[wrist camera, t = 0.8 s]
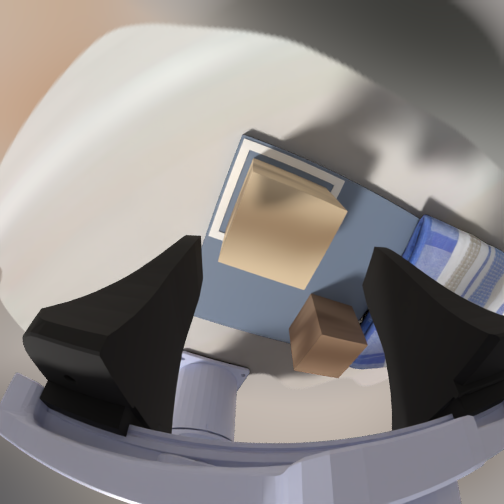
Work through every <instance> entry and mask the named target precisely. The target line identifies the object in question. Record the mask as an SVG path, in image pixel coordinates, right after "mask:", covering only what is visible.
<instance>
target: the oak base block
mask: <svg viewBox="0 0 504 504" xmlns="http://www.w3.org/2000/svg"><path fill="white" fill-rule="evenodd" d="M347 212H348V211H347V210H346V209H345V208H344V207H343V206H342V205H341V203H340V202H339V201H338V200H337V199H336V198H335V197H334V196H333V195H332V194H331V193H330V192H329V191H328V189H327V188H325V187H323V186H321V185H318V184H316V183H314V182H312V181H309V180H307V179H305V178H302V177H300V176H298V175H295V174H293V173H290V172H288V171H286V170H283V169H281V168H278V167H276V166H273V165H271V164H268V163H265V162H263V161H260V160H258V159H255V158H253V160H252V163H251V165H250V168H249V170H248V173H247V175H246V178H245V180H244V183H243V185H242V188H241V191H240V193H239V196H238V198H237V201H236V203H235V206H234V209H233V211H232V214H231V217H230V219H229V222H228V225H227V227H226V231H225V235H224V239H223V243H222V247H221V251H220V255H219V259H218V262H220V263H223V264H226V265H229V266H232V267H235V268H238V269H241V270H244V271H247V272H250V273H253V274H256V275H259V276H262V277H265V278H268V279H271V280H274V281H277V282H280V283H283V284H287V285H290V286H293V287H296V288H299V289H302V290H305V288H306V286H307V284H308V283H309V281H310V279H311V278H312V276H313V274H314V272H315V271H316V269H317V267H318V265H319V264H320V262H321V260H322V258H323V256H324V255H325V253H326V251H327V249H328V247H329V246H330V244H331V242H332V240H333V238H334V236H335V235H336V233H337V231H338V229H339V227H340V225H341V223H342V221H343V219H344V217H345V216H346V214H347Z"/></svg>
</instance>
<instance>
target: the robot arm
mask: <svg viewBox="0 0 504 504" xmlns="http://www.w3.org/2000/svg"><path fill="white" fill-rule="evenodd" d="M202 282H203V266H202V249H201V236H192V235H186V236H184V237H183V238H181V239H180V240H178V241H177V242H176V243H175V244H173V245H172V246H171V247H169V248H168V249H167V250H165V251H164V252H163V253H161V254H160V255H159V256H157V257H156V258H154V259H153V260H152V261H150V262H149V263H147V264H146V265H144V266H143V267H141V268H140V269H138V270H137V271H135V272H133V273H132V274H130V275H128V276H127V277H125V278H123V279H121V280H119V281H117V282H116V283H113V284H111V285H109V286H107V287H105V288H103V289H100V290H98V291H96V292H94V293H91V294H89V295H86V296H83V297H80V298H78V299H75V300H72V301H69V302H65V303H61V304H58V305H54V306H50V307H46V308H42V309H41V310H40V312H39V313H38V314H37V316H36V317H35V319H34V320H33V322H32V323H31V324H30V326H29V327H28V329H27V330H26V332H25V334H24V335H23V345H24V347H25V350H26V352H27V353H28V355H29V356H30V358H31V359H32V361H33V362H34V363H35V365H36V366H37V367H38V369H39V370H40V371H41V372H42V374H43V375H44V376H45V377H46V379H47V380H48V381H47V383H46V386H45V388H44V387H43V386H42V385H41V384H40V383H38V382H36V381H34V380H32V379H30V378H28V377H26V376H24V375H22V374H20V373H18V372H17V373H15V375H14V377H13V379H12V381H11V382H10V384H9V386H8V388H7V390H6V392H5V395H4V397H3V398H2V401H1V403H0V435H1V436H2V437H4V438H5V439H6V440H8V441H9V442H10V443H12V444H13V445H15V446H16V447H17V448H19V449H20V450H22V451H23V452H25V453H26V454H28V455H29V456H31V457H32V458H34V459H36V460H37V461H39V462H40V463H42V464H44V465H45V466H47V467H49V468H51V469H53V470H55V471H56V472H58V473H60V474H62V475H63V476H65V477H67V478H69V479H71V480H73V481H76V482H78V483H80V484H82V485H84V486H86V487H88V488H91V489H93V490H95V491H98V492H100V493H103V494H106V495H108V496H110V497H113V498H116V499H119V500H122V501H125V502H128V503H131V504H461V499H460V492H459V487H458V482H457V480H458V479H461V478H463V477H464V476H466V475H468V474H470V473H472V472H473V471H475V470H477V469H478V468H480V467H482V466H483V465H484V463H485V462H486V461H487V460H489V459H491V458H492V457H494V456H495V455H497V454H498V453H499V452H501V451H502V450H504V316H503V315H500V314H497V313H495V312H492V311H490V310H487V309H485V308H483V307H481V306H478V305H476V304H474V303H472V302H470V301H468V300H466V299H465V298H463V297H461V296H459V295H457V294H456V293H454V292H452V291H451V290H449V289H447V288H446V287H444V286H443V285H441V284H440V283H438V282H437V281H435V280H434V279H432V278H431V277H429V276H428V275H427V274H425V273H424V272H423V271H421V270H420V269H418V268H417V267H416V266H414V265H413V264H412V263H410V262H409V261H407V260H406V259H405V258H403V257H402V256H400V255H399V254H397V253H396V252H394V251H392V250H391V249H389V248H387V247H374V250H373V253H372V257H371V260H370V263H369V266H368V269H367V272H366V275H365V278H364V281H363V284H362V286H363V291H364V295H365V299H366V303H367V307H368V309H369V312H370V315H371V317H372V320H373V323H374V325H375V328H376V331H377V333H378V336H379V339H380V342H381V345H382V348H383V351H384V355H385V360H386V365H387V370H388V376H389V383H390V391H391V404H392V431H389V432H384V433H379V434H373V435H368V436H362V437H355V438H348V439H340V440H330V441H319V442H306V443H305V442H304V443H244V442H234V428H235V412H236V395H237V394H236V393H237V391H238V389H239V388H240V386H241V385H242V383H243V382H244V380H245V379H246V378H247V376H248V375H249V369H247V368H244V367H239V366H236V365H232V364H228V363H224V362H220V361H217V360H213V359H209V358H206V357H203V356H199V355H196V354H193V353H189V352H186V351H183V348H184V344H185V341H186V337H187V334H188V331H189V328H190V325H191V322H192V319H193V316H194V313H195V310H196V307H197V304H198V301H199V297H200V292H201V287H202Z"/></svg>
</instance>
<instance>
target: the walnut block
mask: <svg viewBox="0 0 504 504" xmlns="http://www.w3.org/2000/svg"><path fill="white" fill-rule="evenodd" d="M289 335H290V343H291V351H292V359H293V367H294V370H295V371H300V372H305V373H311V374H317V375H323V376H329V377H335V378H339V377H340V376H341V375H342V373H343V372H344V371H345V370H346V369H347V368H348V367H349V366H350V365H351V364H352V363H353V362H354V361H355V359H356V358H357V357H358V356H359V355H360V354H361V353H362V352H363V350H364V349H365V348H366V347H367V346H368V344H367V341H366V339H365V336H364V334H363V331H362V329H361V327H360V324H359V322H358V319H357V317H356V315H355V312H354V310H353V308H352V306H350V305H347V304H343V303H340V302H337V301H334V300H330V299H327V298H324V297H321V296H318V295H315V294H310V296H309V297H308V299H307V300H306V302H305V304H304V305H303V307H302V308H301V310H300V312H299V313H298V315H297V316H296V318H295V320H294V321H293V323H292V324H291V326H290V327H289Z"/></svg>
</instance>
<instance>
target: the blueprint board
mask: <svg viewBox="0 0 504 504" xmlns="http://www.w3.org/2000/svg"><path fill="white" fill-rule="evenodd" d="M253 158H255V159H258V160H260V161H263V162H265V163H268V164H271V165H273V166H276V167H278V168H281V169H283V170H286V171H288V172H290V173H293V174H295V175H298V176H300V177H302V178H305V179H307V180H309V181H312V182H314V183H316V184H318V185H321V186H323V187H325V188H327V189H328V191H329V192H330V193H331V194H332V195H333V196H334V197H335V198H336V199H337V200H338V201H339V202H340V203H341V205H342V206H343V207H344V208H345V209H346V210H347V211H348V212H347V214H346V216H345V217H344V219H343V221H342V223H341V225H340V227H339V229H338V231H337V233H336V235H335V236H334V238H333V240H332V242H331V244H330V246H329V247H328V249H327V251H326V253H325V255H324V256H323V258H322V260H321V262H320V264H319V265H318V267H317V269H316V271H315V272H314V274H313V276H312V278H311V279H310V281H309V283H308V284H307V286H306V288H305V290H302V289H299V288H296V287H293V286H290V285H287V284H283V283H280V282H277V281H274V280H271V279H268V278H265V277H262V276H259V275H256V274H253V273H250V272H247V271H244V270H241V269H238V268H235V267H232V266H229V265H226V264H223V263H220V262H218V259H219V255H220V251H221V247H222V243H223V239H224V235H225V231H226V227H227V225H228V222H229V219H230V217H231V214H232V211H233V209H234V206H235V203H236V201H237V198H238V196H239V193H240V191H241V188H242V185H243V183H244V180H245V178H246V175H247V173H248V170H249V168H250V165H251V163H252V160H253ZM419 221H420V219H419V218H418V217H416V216H414V215H413V214H411V213H409V212H408V211H406V210H404V209H403V208H401V207H399V206H398V205H396V204H394V203H392V202H391V201H389V200H387V199H385V198H383V197H382V196H380V195H378V194H376V193H374V192H372V191H371V190H369V189H367V188H365V187H363V186H361V185H359V184H357V183H355V182H353V181H351V180H349V179H347V178H345V177H343V176H341V175H339V174H337V173H335V172H333V171H331V170H329V169H327V168H325V167H322V166H320V165H318V164H316V163H314V162H311V161H309V160H307V159H305V158H302V157H300V156H298V155H295V154H293V153H291V152H288V151H286V150H283V149H281V148H278V147H276V146H273V145H271V144H268V143H266V142H263V141H261V140H258V139H255V138H253V137H250V136H247V135H244V134H243V135H242V137H241V140H240V143H239V145H238V148H237V150H236V153H235V155H234V158H233V161H232V163H231V166H230V169H229V171H228V174H227V177H226V179H225V182H224V185H223V188H222V190H221V193H220V196H219V199H218V201H217V204H216V207H215V210H214V213H213V216H212V218H211V221H210V224H209V227H208V230H207V233H206V236H205V239H204V242H203V245H202V248H201V249H202V266H203V282H202V287H201V292H200V297H199V301H198V304H197V307H196V310H195V313H194V316H196V317H199V318H202V319H205V320H208V321H211V322H214V323H218V324H221V325H224V326H228V327H231V328H234V329H238V330H241V331H245V332H248V333H252V334H256V335H259V336H263V337H267V338H271V339H275V340H279V341H283V342H287V343H290V335H289V327H290V326H291V324H292V323H293V321H294V320H295V318H296V316H297V315H298V313H299V312H300V310H301V308H302V307H303V305H304V304H305V302H306V300H307V299H308V297H309V296H310V294H315V295H318V296H321V297H324V298H327V299H330V300H334V301H337V302H340V303H343V304H347V305H350V306H352V308H353V310H354V312H355V315H356V317H357V319H358V321H359V320H360V319H361V317H362V316H363V315H364V313H365V312H366V311H367V309H368V307H367V303H366V299H365V295H364V291H363V286H362V284H363V281H364V278H365V275H366V272H367V269H368V266H369V263H370V260H371V257H372V253H373V250H374V247H387V248H389V249H391V250H392V251H394V252H396V253H397V254H399V255H400V256H402V255H403V253H404V252H405V249H406V247H407V245H408V243H409V241H410V239H411V237H412V235H413V232H414V230H415V228H416V226H417V224H418V222H419Z"/></svg>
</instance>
